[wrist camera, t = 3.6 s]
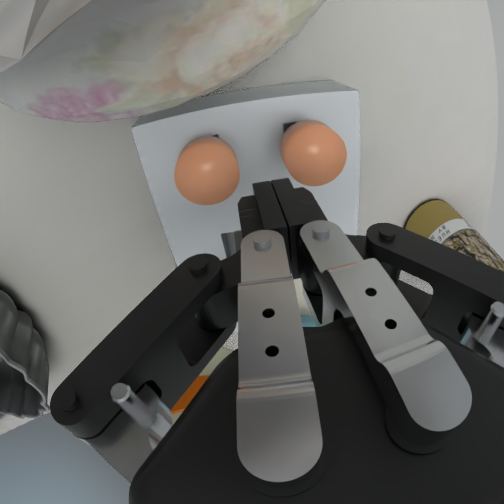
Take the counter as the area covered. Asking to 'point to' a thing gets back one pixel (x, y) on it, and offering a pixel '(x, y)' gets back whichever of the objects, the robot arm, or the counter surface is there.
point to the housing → (246, 157)
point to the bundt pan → (21, 364)
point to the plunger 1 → (207, 171)
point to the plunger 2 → (313, 152)
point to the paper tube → (452, 232)
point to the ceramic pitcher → (134, 52)
